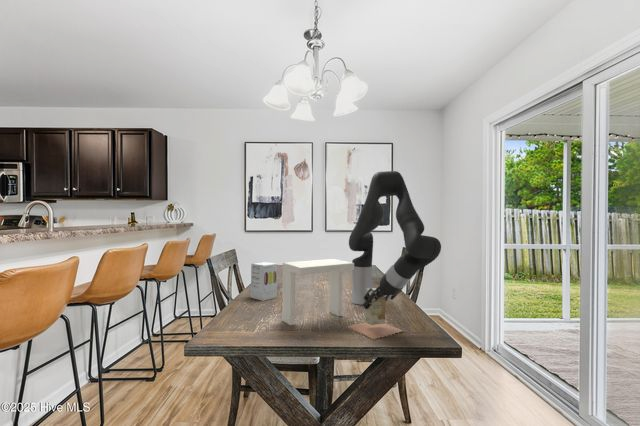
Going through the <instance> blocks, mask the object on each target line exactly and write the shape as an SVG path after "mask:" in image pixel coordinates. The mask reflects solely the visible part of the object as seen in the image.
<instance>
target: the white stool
mask: <svg viewBox="0 0 640 426" xmlns="http://www.w3.org/2000/svg"><path fill="white" fill-rule="evenodd" d="M352 270H354V263H352V261H345V260H342V259H337V258H327V259H315V260H314V259H313V260H302V261H288V262H282V303H281V304H282V308H281V310H282V311H281V313H282V315H281V316H282V319H281V321H282V322H284V323H286V324H287V325H289V326H294V325H296V274H297V275H299V276H303V275H313V274H322V273H329V293H328V294H329V295H328V296H329V297H328V299H329V300H328V302H329V303H328V307H329V308H328V311H329V314H332V315H334V316H336V317H342V316H343V289H344V288H343V282H344V281H343V276H344V275H343V271H352Z"/></svg>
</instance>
